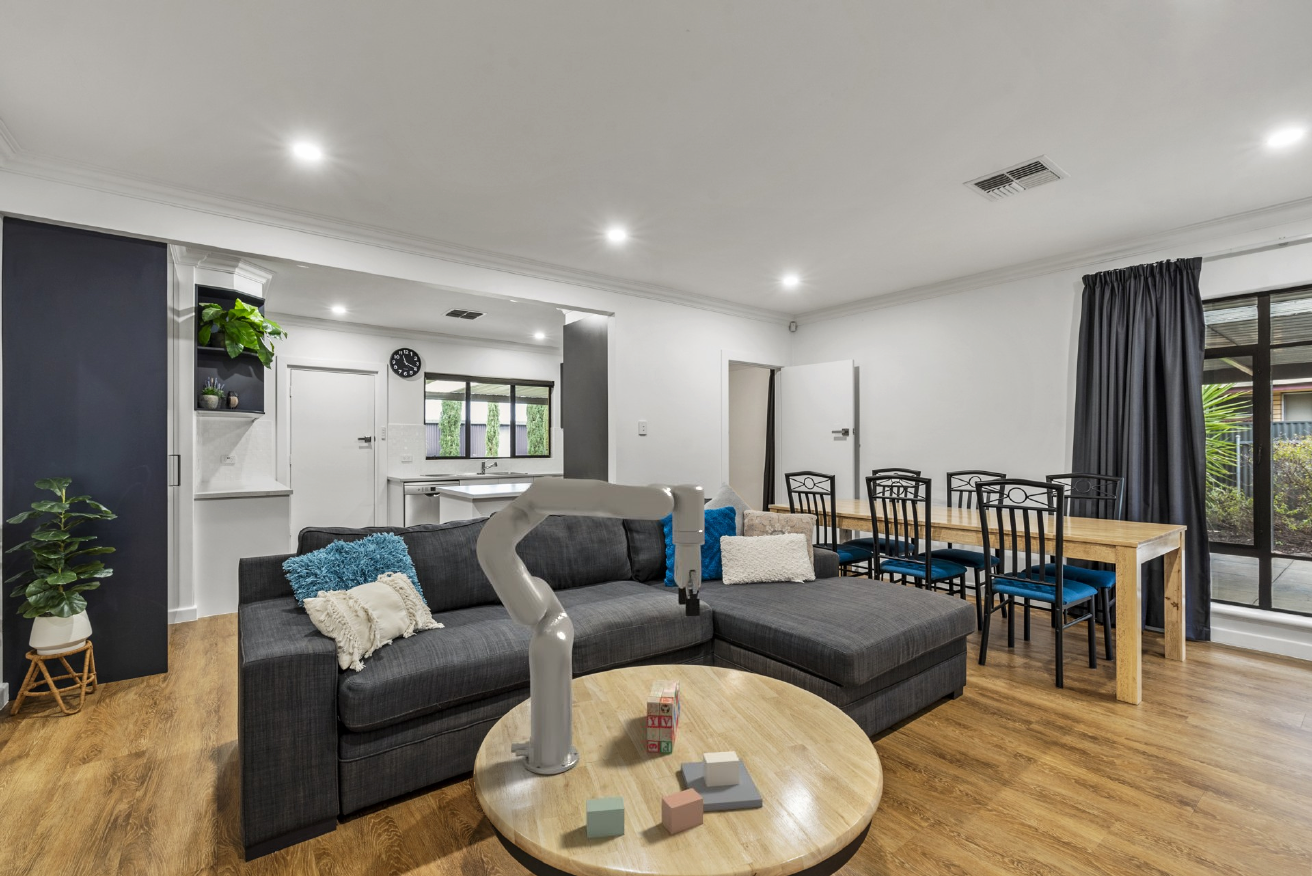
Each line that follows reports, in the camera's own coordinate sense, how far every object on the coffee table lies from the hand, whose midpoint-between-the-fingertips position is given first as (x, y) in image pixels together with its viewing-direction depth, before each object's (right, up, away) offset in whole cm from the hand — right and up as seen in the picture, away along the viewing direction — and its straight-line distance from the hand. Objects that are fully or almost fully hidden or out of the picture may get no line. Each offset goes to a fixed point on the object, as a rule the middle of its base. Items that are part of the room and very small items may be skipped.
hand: (688, 609), depth 146 cm
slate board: (+6, -34, -13) cm, 37 cm away
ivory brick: (+6, -33, -13) cm, 36 cm away
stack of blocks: (-6, -35, +12) cm, 37 cm away
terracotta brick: (-3, -34, -26) cm, 43 cm away
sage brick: (-17, -34, -28) cm, 48 cm away
